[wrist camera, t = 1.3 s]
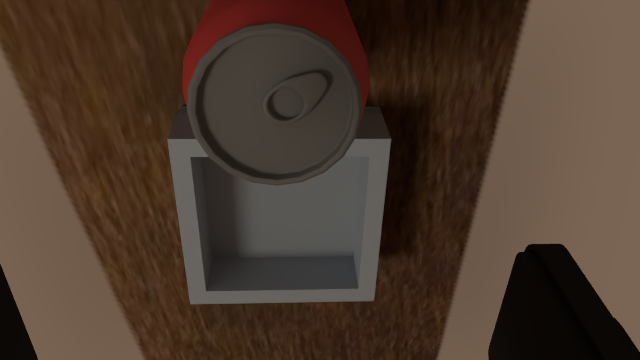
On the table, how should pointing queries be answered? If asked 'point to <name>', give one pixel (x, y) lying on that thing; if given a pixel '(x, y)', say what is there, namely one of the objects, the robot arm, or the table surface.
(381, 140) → the tray
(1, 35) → the table surface
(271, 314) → the table surface
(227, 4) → the beer can
